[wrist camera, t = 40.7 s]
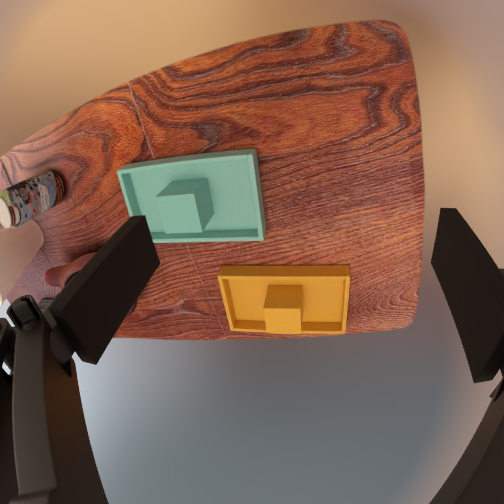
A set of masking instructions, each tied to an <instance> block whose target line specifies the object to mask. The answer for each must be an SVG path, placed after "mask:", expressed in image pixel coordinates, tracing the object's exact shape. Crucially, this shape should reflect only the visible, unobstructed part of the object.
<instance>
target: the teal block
mask: <svg viewBox="0 0 504 504" xmlns="http://www.w3.org/2000/svg"><path fill="white" fill-rule="evenodd" d="M155 198H156V202H157V205H158V209H159V213H160V216H161V220H162V223H163V227H164V230H165V234H168V233H199V232H203V231H204V229H205V227H206V226H207V224H208V223H209V221H210V219H211V218H212V216H213V214H214V210H213V205H212V200H211V195H210V190H209V185H208V179H207V178H200V179H190V180H180V181H171V182H170V183H169V184H168V185H167V186H166V187H165V188H164V189H163V190H162V191H161V192H160V193H159V194H158V195H157V196H156V197H155Z"/></svg>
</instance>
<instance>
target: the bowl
mask: <svg viewBox="0 0 504 504" xmlns="http://www.w3.org/2000/svg"><path fill="white" fill-rule="evenodd" d="M96 253H97V252H94V253H89V254H85V255H83V256H81V257H79V258H77V259H76V260H74V261H73V262H71V263H70V264H68V265H64V266H59V267H55V268H51V269H49V270H48V271H47V272H46V274H45V280H46V282H47V283H48V284H49V285H50V286H58V287H62V288H64V287H65V286H67V285H66V284H67V283H68V282H69V281H70V280H71V279H72V277H73V276H75V275H76V274H77V273H79V271H80V270H81V269H82V268H83V267H84V266H85V265H86V264H87V262H88V261H89V260H90V259H91V258H92V257H93V256H94V255H95V254H96ZM137 302H138V298H137V299H136V301H135V303H134V304H133V306H132V307H131V309H130V310H129V312H128V313H127V315H126V317H127V316H129V315H131V314H132V313H133V312H134V310H135V308H136V305H137Z"/></svg>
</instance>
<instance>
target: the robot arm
mask: <svg viewBox="0 0 504 504" xmlns="http://www.w3.org/2000/svg"><path fill="white" fill-rule="evenodd" d="M431 264H432V266H433V269H434V271H435V273H436V276H437V278H438V280H439V282H440V285H441V287H442V290H443V292H444V295H445V297H446V300H447V302H448V305H449V308H450V310H451V313H452V316H453V318H454V321H455V324H456V327H457V330H458V333H459V335H460V338H461V341H462V345H463V348H464V351H465V353H466V357H467V360H468V364H469V367H470V371H471V374H472V378H473V381H474V383H478V382H484V381H490V380H493V378H494V377H495V375H496V374H497V372H498V371H499V369H500V370H501V373H502V376H503V378H502V380H501V382H500V383H499V384H498V386H497V387H496V388H495V390H494V391H493V392H492V394H491V395H490V397H491V398H492V397H493V398H492V400H491V402H490V405H489V407H488V409H487V411H486V413H485V415H484V417H483V419H482V421H481V423H480V425H479V427H478V429H477V430H476V432H475V434H474V436H473V438H472V440H471V441H470V443H469V445H468V446H467V448H466V450H465V452H464V453H463V455H462V457H461V458H460V460H459V462H458V463H457V465H456V466H455V468H454V469H453V471H452V472H451V474H450V475H449V477H448V478H447V480H446V481H445V483H444V484H443V486H442V487H441V489H440V490H439V491H438V493H437V494H436V495H435V497H434V498H433V499H432V501H431V502H430V503H429V504H504V269H499V268H498V267H497V265H496V264H495V262H494V261H493V259H492V258H491V256H490V255H489V253H488V252H487V250H486V249H485V248H484V246H483V245H482V243H481V241H480V240H479V239H478V237H477V236H476V235H475V233H474V232H473V231H472V229H471V228H470V226H469V225H468V224H467V222H466V221H465V220H464V219H463V217H462V216H461V214H460V213H459V212H458V210H457V209H456V208H441V209H440V215H439V222H438V228H437V233H436V239H435V244H434V249H433V254H432V259H431ZM159 265H160V261H159V258H158V255H157V252H156V249H155V246H154V242H153V239H152V236H151V233H150V230H149V226H148V223H147V220H146V216H145V215H138V216H131V217H130V218H129V219H128V220H127V221H126V222H125V223H124V224H123V225H122V226H121V227H120V228H119V229H118V231H117V232H116V233H115V234H114V235H113V236H112V237H111V238H110V239H109V240H108V241H107V242H106V243H105V244H104V245H103V246H102V247H101V248H100V249H99V250H98V252H97V253H96V254H95V255H94V256H93V257H92V258H91V259H90V260H89V261H88V262H87V264H86V265H85V266H84V267H83V268H82V269H81V270H80V271H79V273H77V274H76V275H75V276H73V277H72V279H71V280H70V281H69V282H68V283H67V284H66V285H67V286H65V287H64V288H63V289H62V290H61V292H60V293H59V294H58V295H57V296H56V297H55V298H54V300H53V301H52V302H51V303H50V305H49V306H48V307H47V308H46V309H45V311H44V312H43V313H42V312H41V310H40V308H39V307H38V305H37V303H36V302H35V300H34V298H33V297H32V296H31V295H25V296H22V297H20V298H18V299H16V300H15V301H14V302H13V303H12V304H11V305H10V306H9V308H8V310H7V314H8V316H9V317H10V319H11V320H12V322H13V324H14V325H15V327H11V325H10V324H9V322H8V321H7V319H5V318H0V504H109V503H108V501H107V498H106V495H105V492H104V489H103V486H102V483H101V480H100V476H99V473H98V470H97V467H96V463H95V459H94V456H93V452H92V448H91V445H90V440H89V437H88V432H87V427H86V423H85V418H84V413H83V408H82V403H81V398H80V392H79V386H78V380H77V373H76V366H75V362H74V360H73V358H72V357H71V356H72V355H73V353H74V352H76V353H77V355H78V356H79V357H80V359H81V360H82V361H83V362H87V363H91V364H95V365H96V364H97V363H98V361H99V359H100V358H101V356H102V354H103V353H104V351H105V349H106V347H107V346H108V344H109V343H110V341H111V339H112V338H113V336H114V334H115V333H116V331H117V329H118V328H119V326H120V325H121V323H122V321H123V320H124V318H125V317H126V315H127V313H128V312H129V310H130V309H131V307H132V306H133V304H134V303H135V301H136V299H137V298H138V296H139V295H140V293H141V292H142V290H143V289H144V287H145V286H146V284H147V283H148V281H149V280H150V278H151V277H152V275H153V274H154V272H155V271H156V269H157V268H158V266H159ZM3 362H4V363H5V364H6V365H7V366H8V367H9V369H11V372H10V374H9V375H8V374H7V373H6V372H5V371H4V369H3V368H2V365H3Z"/></svg>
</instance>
